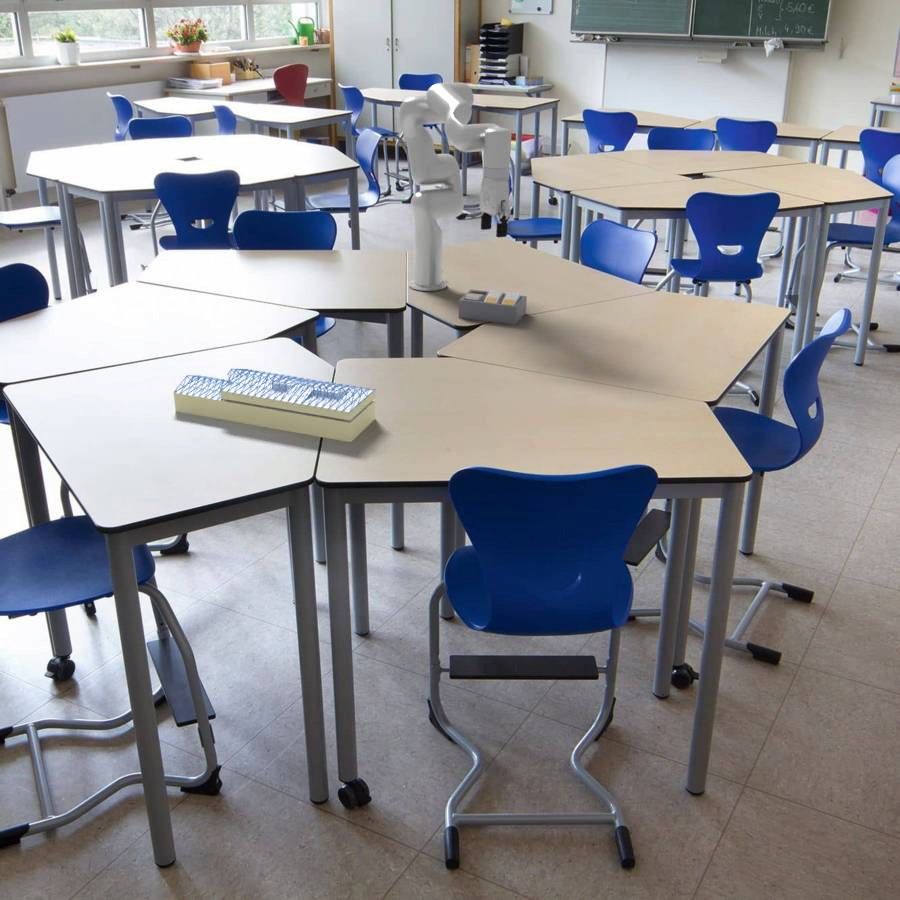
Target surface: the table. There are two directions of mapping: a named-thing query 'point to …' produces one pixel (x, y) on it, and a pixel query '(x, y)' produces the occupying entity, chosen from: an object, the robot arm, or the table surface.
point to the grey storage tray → (492, 309)
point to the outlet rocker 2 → (493, 296)
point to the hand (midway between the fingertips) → (493, 233)
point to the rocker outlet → (511, 298)
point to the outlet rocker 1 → (474, 296)
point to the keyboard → (280, 403)
